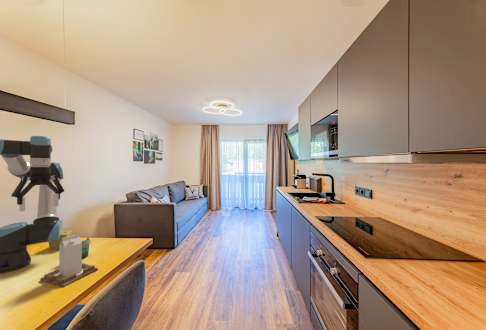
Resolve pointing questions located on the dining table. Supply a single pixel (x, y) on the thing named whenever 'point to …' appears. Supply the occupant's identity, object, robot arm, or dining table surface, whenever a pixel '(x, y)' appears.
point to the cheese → (60, 239)
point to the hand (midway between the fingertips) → (40, 208)
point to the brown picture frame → (61, 281)
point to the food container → (85, 247)
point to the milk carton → (70, 255)
